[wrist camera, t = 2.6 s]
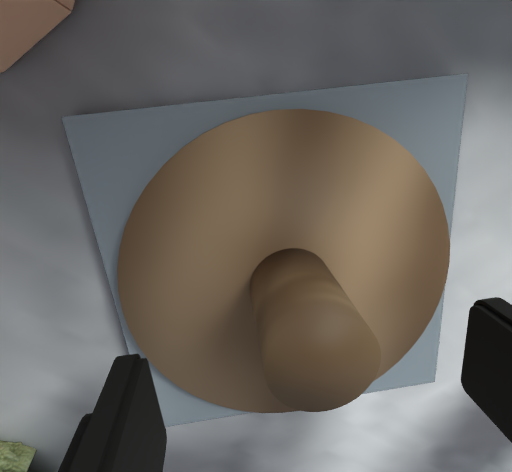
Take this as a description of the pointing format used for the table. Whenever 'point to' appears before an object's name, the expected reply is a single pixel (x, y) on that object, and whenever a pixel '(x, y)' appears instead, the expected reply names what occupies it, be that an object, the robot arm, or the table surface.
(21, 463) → the washcloth
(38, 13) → the bowl
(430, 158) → the mat
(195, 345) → the lid
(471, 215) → the table surface
